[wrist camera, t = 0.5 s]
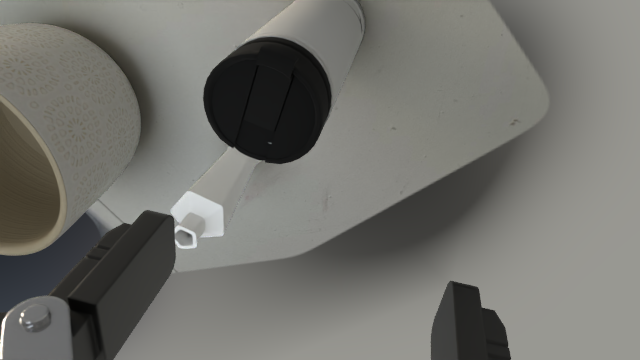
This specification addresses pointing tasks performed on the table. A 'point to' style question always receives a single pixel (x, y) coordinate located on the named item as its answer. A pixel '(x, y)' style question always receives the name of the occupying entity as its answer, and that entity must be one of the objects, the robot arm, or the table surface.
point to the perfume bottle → (212, 199)
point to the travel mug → (285, 80)
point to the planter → (58, 131)
